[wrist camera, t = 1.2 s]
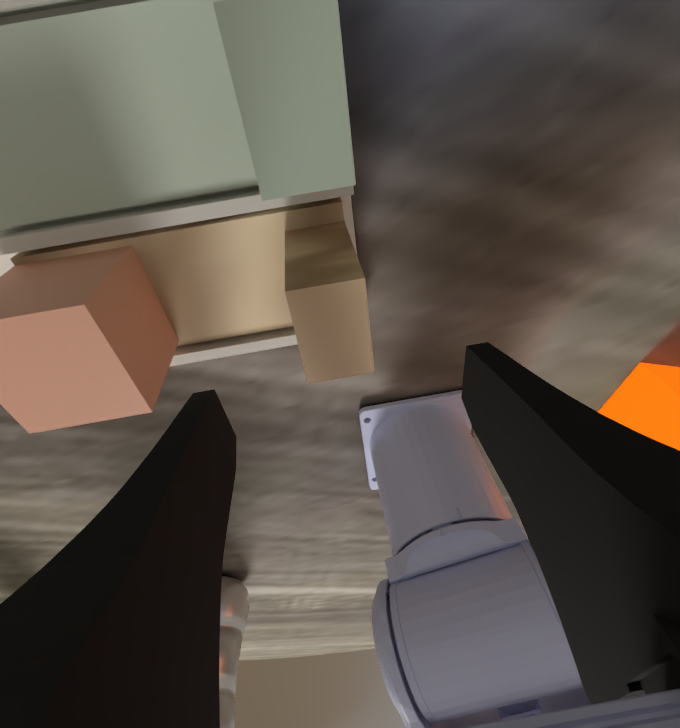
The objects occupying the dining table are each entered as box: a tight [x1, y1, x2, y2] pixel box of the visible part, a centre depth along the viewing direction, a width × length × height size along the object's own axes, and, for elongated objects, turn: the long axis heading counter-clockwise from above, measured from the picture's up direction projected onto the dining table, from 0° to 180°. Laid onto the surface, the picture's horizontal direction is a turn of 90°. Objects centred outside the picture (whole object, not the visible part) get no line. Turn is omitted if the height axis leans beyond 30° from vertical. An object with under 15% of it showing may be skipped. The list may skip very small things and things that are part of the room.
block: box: [0, 246, 179, 434], centre depth 16 cm, size 5×5×5 cm
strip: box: [0, 0, 356, 229], centre depth 12 cm, size 14×6×6 cm, turn 97°
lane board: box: [0, 0, 357, 367], centre depth 16 cm, size 20×15×2 cm
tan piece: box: [10, 197, 374, 384], centre depth 16 cm, size 14×6×6 cm, turn 97°
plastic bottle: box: [219, 576, 249, 728], centre depth 32 cm, size 6×7×20 cm
